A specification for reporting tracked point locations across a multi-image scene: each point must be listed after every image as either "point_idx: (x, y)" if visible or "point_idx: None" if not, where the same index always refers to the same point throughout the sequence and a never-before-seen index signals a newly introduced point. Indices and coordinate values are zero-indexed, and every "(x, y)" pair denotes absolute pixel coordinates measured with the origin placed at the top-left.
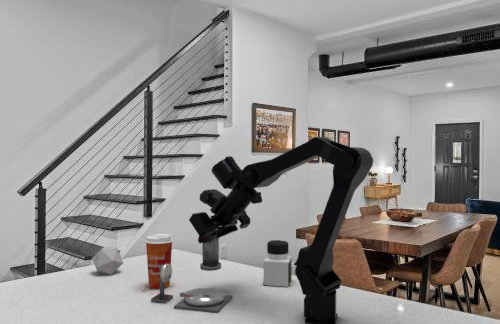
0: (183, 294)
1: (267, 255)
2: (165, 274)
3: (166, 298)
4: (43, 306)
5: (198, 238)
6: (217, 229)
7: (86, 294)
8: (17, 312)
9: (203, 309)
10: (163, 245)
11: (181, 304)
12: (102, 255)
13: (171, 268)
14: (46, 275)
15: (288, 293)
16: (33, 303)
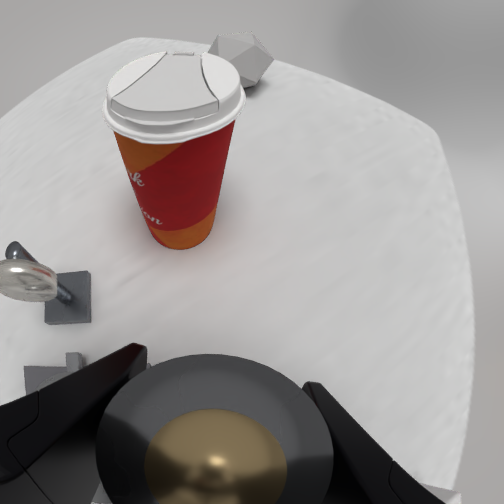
0: (67, 366)
1: (454, 498)
2: (7, 292)
3: (57, 316)
4: (28, 122)
5: (113, 353)
6: (338, 493)
7: (85, 126)
8: (10, 118)
9: None
10: (126, 138)
11: (37, 382)
12: (214, 47)
13: (44, 284)
14: (179, 43)
15: None
16: (42, 104)
